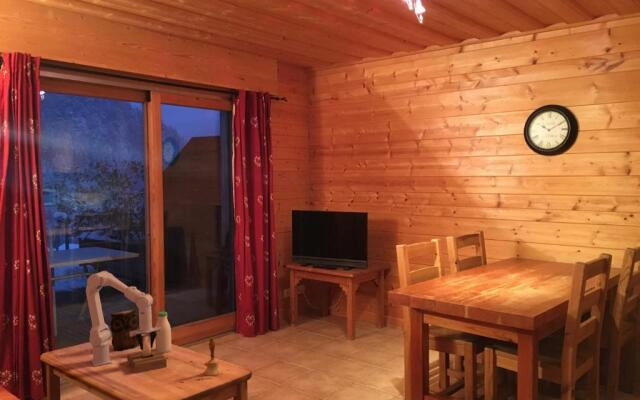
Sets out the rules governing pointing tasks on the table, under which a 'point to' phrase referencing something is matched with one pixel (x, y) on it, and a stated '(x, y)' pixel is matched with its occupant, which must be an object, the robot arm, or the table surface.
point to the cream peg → (146, 345)
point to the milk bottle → (163, 333)
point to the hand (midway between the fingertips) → (146, 348)
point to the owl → (124, 330)
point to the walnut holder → (146, 361)
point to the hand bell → (212, 362)
